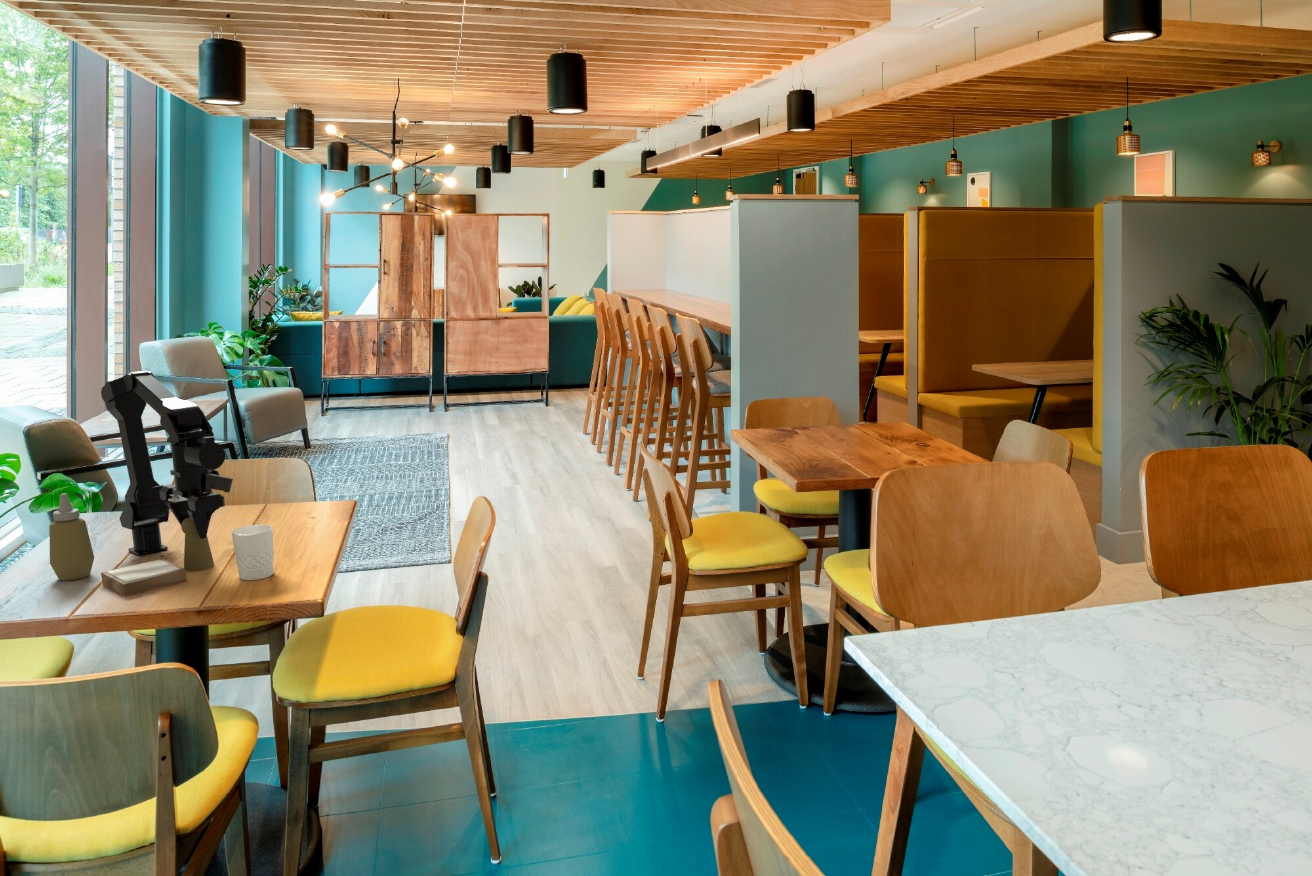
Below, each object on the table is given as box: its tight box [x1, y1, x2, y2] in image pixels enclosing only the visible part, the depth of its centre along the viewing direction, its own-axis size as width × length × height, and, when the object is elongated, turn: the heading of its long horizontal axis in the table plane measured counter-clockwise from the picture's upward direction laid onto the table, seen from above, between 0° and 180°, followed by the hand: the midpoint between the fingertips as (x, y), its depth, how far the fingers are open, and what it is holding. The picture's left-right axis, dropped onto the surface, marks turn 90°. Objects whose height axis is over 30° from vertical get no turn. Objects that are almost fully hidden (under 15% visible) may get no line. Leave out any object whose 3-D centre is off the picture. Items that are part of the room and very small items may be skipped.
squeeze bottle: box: [48, 493, 95, 581], centre depth 203 cm, size 8×8×18 cm
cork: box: [180, 517, 215, 572], centre depth 209 cm, size 6×6×11 cm
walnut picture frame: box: [100, 558, 188, 597], centre depth 200 cm, size 12×12×3 cm
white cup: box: [231, 524, 275, 581], centre depth 202 cm, size 8×8×10 cm
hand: (195, 535), depth 209 cm, fingers open, 7 cm apart
